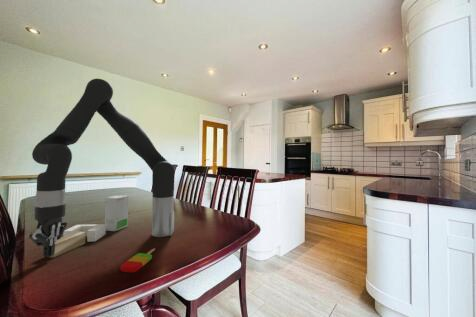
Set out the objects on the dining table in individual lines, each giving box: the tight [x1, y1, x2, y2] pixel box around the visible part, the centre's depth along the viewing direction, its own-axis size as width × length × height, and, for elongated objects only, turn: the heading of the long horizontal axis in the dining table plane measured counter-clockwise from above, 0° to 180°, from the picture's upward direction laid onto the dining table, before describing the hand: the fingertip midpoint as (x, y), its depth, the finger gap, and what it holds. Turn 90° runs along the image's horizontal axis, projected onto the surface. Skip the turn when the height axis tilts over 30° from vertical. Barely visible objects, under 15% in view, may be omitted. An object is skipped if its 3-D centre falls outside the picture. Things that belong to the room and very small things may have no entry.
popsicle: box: [120, 248, 156, 273], centre depth 68 cm, size 6×15×2 cm, turn 171°
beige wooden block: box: [50, 232, 86, 259], centre depth 75 cm, size 4×12×5 cm, turn 172°
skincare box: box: [104, 195, 129, 232], centre depth 99 cm, size 8×7×16 cm
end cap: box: [62, 223, 107, 242], centre depth 86 cm, size 12×8×4 cm, turn 97°
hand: (49, 256), depth 67 cm, fingers closed
